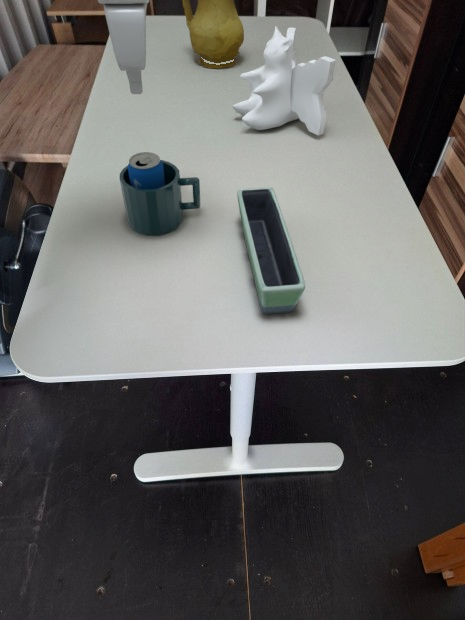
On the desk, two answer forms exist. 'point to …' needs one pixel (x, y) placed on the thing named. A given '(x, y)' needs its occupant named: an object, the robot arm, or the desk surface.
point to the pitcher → (215, 31)
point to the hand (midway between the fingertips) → (136, 79)
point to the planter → (270, 251)
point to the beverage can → (146, 171)
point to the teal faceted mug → (158, 202)
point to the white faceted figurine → (286, 88)
